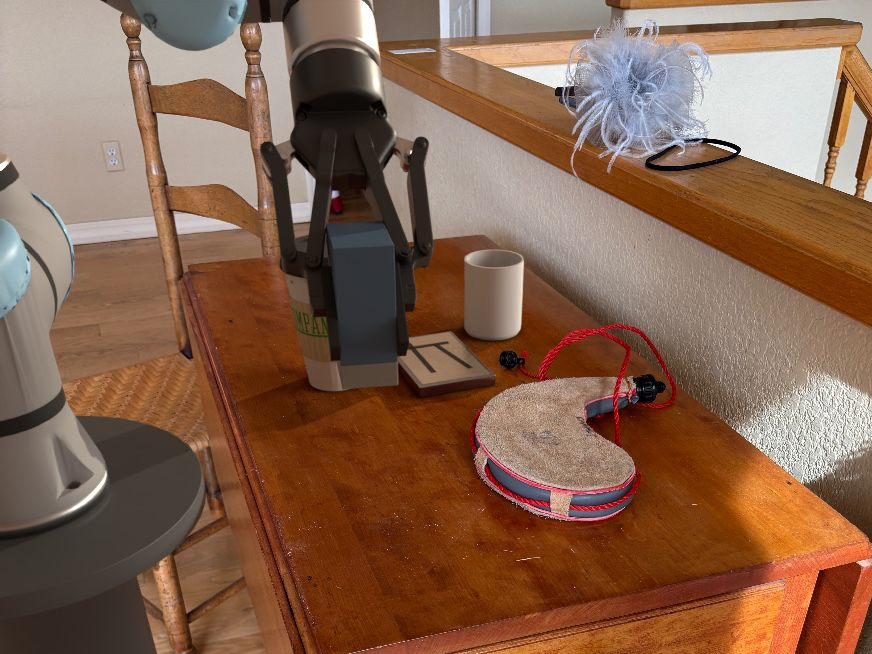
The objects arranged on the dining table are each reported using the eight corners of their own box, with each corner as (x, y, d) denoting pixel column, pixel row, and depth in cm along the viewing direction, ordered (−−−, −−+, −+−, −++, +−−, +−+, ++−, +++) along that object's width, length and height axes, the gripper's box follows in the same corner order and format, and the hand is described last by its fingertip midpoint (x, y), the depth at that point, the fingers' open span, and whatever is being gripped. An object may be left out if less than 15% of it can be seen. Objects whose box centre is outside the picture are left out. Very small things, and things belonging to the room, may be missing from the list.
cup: (476, 344, 114) (477, 271, 108) (448, 317, 121) (447, 247, 116) (530, 336, 116) (533, 263, 110) (498, 309, 123) (500, 240, 118)
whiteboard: (420, 397, 102) (419, 386, 101) (382, 350, 113) (381, 340, 112) (495, 384, 105) (495, 373, 104) (451, 340, 115) (451, 329, 114)
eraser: (342, 389, 74) (332, 248, 67) (335, 357, 79) (325, 223, 72) (398, 385, 75) (394, 245, 68) (387, 354, 80) (382, 220, 73)
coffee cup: (284, 369, 108) (268, 237, 99) (365, 357, 111) (356, 227, 102) (304, 404, 101) (288, 264, 92) (390, 389, 104) (383, 253, 95)
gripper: (437, 103, 80) (472, 362, 77) (229, 109, 77) (257, 378, 74) (448, 40, 72) (488, 323, 69) (219, 44, 70) (250, 339, 67)
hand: (369, 351), depth 72 cm, fingers closed on eraser, 4 cm apart
